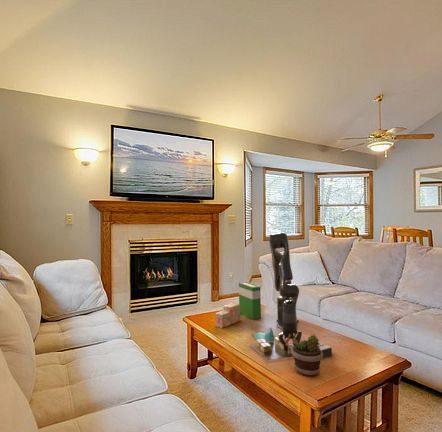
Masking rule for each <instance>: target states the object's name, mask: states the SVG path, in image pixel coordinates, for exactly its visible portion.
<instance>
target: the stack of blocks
mask: <svg viewBox="0 0 442 432" xmlns="http://www.w3.org/2000/svg"><path fill="white" fill-rule="evenodd" d="M222 307H223V308H222V310H220V311H217V312H215V320H214V321H215V327H217V328H220V329H223V328H227V327H228V326H230V325H233V324H235V323H238V322H240V321H241V314H240V304H239V303H237V302H231V303H228V304H226V305H223V306H222Z"/></svg>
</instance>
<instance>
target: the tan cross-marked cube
mask: <svg viewBox="0 0 442 432" xmlns="http://www.w3.org/2000/svg"><path fill="white" fill-rule="evenodd" d="M287 345H288V353H291V352H290V351H291V348H292V347H293V346H294V345H292V343H290V344H287Z"/></svg>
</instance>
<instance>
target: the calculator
mask: <svg viewBox="0 0 442 432" xmlns="http://www.w3.org/2000/svg"><path fill="white" fill-rule="evenodd" d="M301 341H302V342H303V341H304V340H301ZM301 341H300V343H302V342H301ZM318 347H320V350H321V351H322V352H323V354H324V355H323V358H326V357H329V356H332V355H333V350H332V347H331V346H329V345H326V344H324V343H321V342H319V344H318Z"/></svg>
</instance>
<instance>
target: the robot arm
mask: <svg viewBox="0 0 442 432" xmlns="http://www.w3.org/2000/svg"><path fill="white" fill-rule="evenodd" d="M268 244H269V248H270V253H271V263H272V270H273V278H274V279H273V281H274V282H273V283H274V289H275V291H276V292H279V296H277V298H276V312H277V313H276V314H277V316H276V317H277V319H276V323H277V325H276V326H277V327H278V328H280V329H282V331H281V332H278V333H277V337H279V340H280V343H281V344H283V345H284V350H285V352H288V345H287V344H288V342H289V343H290V340H291V341H292V343H291V344H292V345H294V346H295V345H296V344H297V343H299V342H301V339H302V334H303V333H302V331H300V330H298V323H299V322H300V320H299V319H298V316H297V303H298V298H299V296H300V287H299V286H298V285H297V284H295V283H292V281H293V279H294V275H293V270H292V264H291V254H290V253H291V252H290V243H289V238H288V235H287V233H286V232H277V233H271V234H270V235H269V237H268ZM278 249H283V254H282V253H281V252H280V251H279V250H278ZM283 338H284V340H283ZM297 341H298V342H297Z"/></svg>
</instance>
